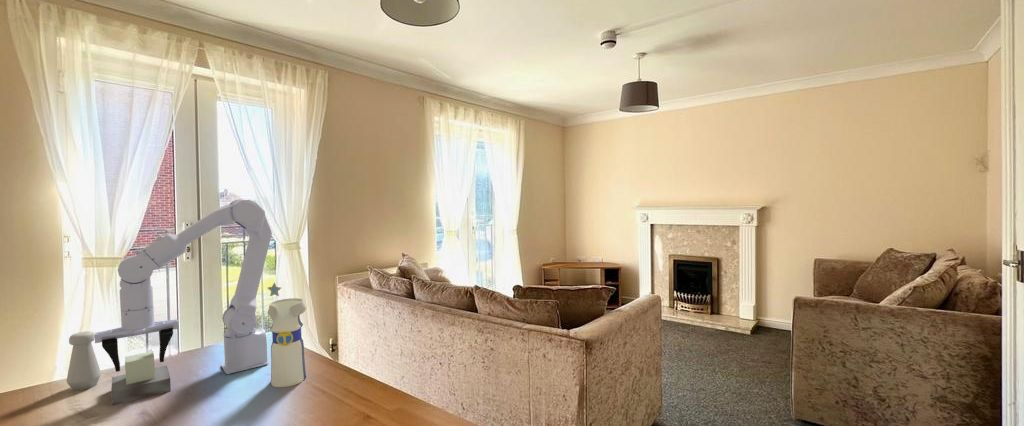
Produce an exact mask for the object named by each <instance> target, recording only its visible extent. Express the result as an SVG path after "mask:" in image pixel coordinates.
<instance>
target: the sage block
mask: <svg viewBox="0 0 1024 426" xmlns="http://www.w3.org/2000/svg"><path fill="white" fill-rule="evenodd" d="M155 368H156V367H155V354H154V351H147V352H141V353H137V354H132V355H127V356H125V357H124V371H125V374H126V385H127V384H132V383H136V382H141V381H145V380H149V379H154V378H155Z"/></svg>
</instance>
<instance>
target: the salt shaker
mask: <svg viewBox="0 0 1024 426" xmlns="http://www.w3.org/2000/svg"><path fill="white" fill-rule="evenodd" d="M92 342H95V332H93V331H88V330H87V331H80V332H76V333H74V334H73V333H72V334H71V335H70V336H69V338H68V344H69V345H71V346H72V349H71V355H70V360H69V366H68V371H67V376H66V383H67V385H68V386H69V387H70V388H71V390H72V391H83V390H87V389H91V388H93V387H95V386H97V384H98V383H99V381H100V380H99V379H100V378H101V375H102V374H101V373H102V371H101V369H100V365H99V363H98V360H97V357H96V353H95V350H94V347H93V344H92Z"/></svg>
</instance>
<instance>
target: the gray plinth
mask: <svg viewBox="0 0 1024 426" xmlns="http://www.w3.org/2000/svg"><path fill="white" fill-rule="evenodd" d="M171 391H172V389H171V376H170V372H169V368H168V365H161V366H158V367H155V378H154V379H149V380H145V381H141V382H136V383H132V384H127V385H126V373H125V374H121V375H116V376H112V377H111V392H110V393H111V405H112V406H115V405H119V404H123V403H127V402H131V401H134V400H139V399H143V398H146V397H150V396H155V395H156V396H157V395H159V394H163V393H167V392H171Z"/></svg>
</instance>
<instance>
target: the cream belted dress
mask: <svg viewBox="0 0 1024 426" xmlns="http://www.w3.org/2000/svg"><path fill="white" fill-rule="evenodd" d="M267 289H268V290H269V291H270V294H269V297H273V296H274V295H275V296H277V297H279V296H280V294H279V291H280V290H281V289H282V287H281V286H277V284H276V283H275V282H273V283H272V286H268V287H267ZM307 308H308V305H307V304H306V302H305V300H304V299H303V298H297V297H291V298H290V297H289V298H282V299H277V300H274V301H272V302H271V303H269V306H268V310H267V315H268V316H269V317H270V319H271V320H272V325H271V327H270V328H269V329H270V331H271V335H272V342H271V346H270V365H271V366H270V385H271V386H272V387H274V388H287V387H292V386H295V385H298V384H300V382H301V383H302V382H304V381H305V380H306V379H307V374H306V373H307V371H306V359H305V345H304V339H303V338H302V327H303V325H304V324H303V322H302V321H301V318H300V315H302V314H304V312H305V311H306V310H307ZM305 378H306V379H305ZM303 380H304V381H303Z"/></svg>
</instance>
